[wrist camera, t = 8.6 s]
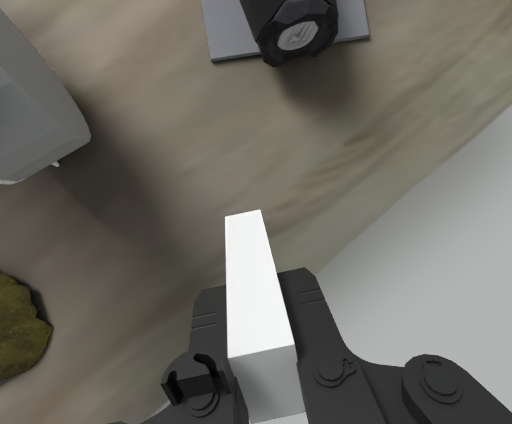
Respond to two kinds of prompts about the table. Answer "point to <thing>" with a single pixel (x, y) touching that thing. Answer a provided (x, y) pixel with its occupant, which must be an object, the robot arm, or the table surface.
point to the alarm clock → (33, 110)
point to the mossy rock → (19, 329)
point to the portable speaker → (291, 27)
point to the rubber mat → (240, 36)
